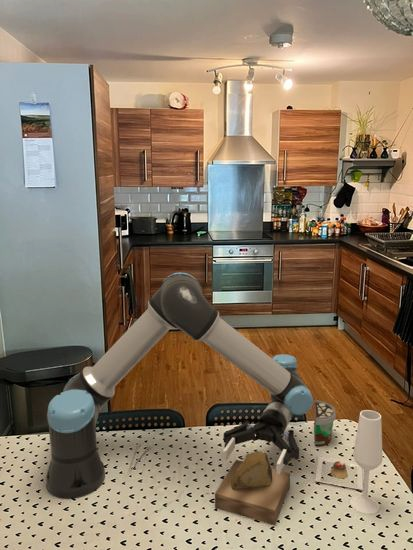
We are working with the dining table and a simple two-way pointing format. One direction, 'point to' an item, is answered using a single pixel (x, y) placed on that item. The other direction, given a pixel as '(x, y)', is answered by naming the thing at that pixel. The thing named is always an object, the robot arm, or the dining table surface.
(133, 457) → the tweezers
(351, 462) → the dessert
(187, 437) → the dining table surface
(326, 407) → the food container
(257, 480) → the rock
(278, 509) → the plinth
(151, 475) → the dining table surface
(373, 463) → the champagne flute
